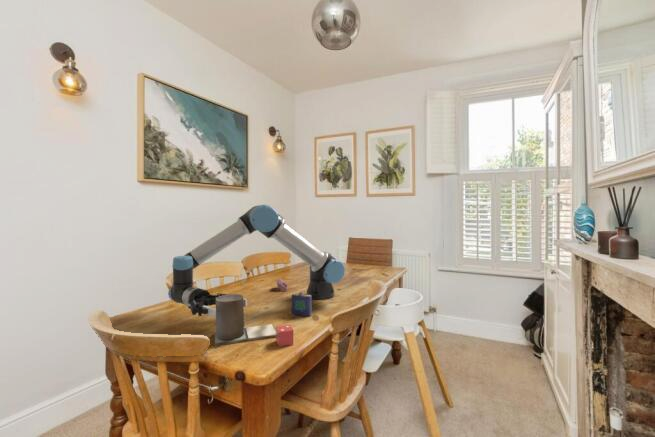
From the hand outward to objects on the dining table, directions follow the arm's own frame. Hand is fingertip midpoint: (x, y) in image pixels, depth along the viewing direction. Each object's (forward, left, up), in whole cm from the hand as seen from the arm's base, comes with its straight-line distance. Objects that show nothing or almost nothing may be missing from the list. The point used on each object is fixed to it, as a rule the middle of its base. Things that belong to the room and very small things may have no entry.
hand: (231, 307), depth 109 cm
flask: (-30, -15, -11) cm, 35 cm away
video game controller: (-31, -60, -11) cm, 69 cm away
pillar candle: (+1, -1, -10) cm, 10 cm away
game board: (-5, -1, -11) cm, 12 cm away
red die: (-17, +10, -11) cm, 23 cm away
